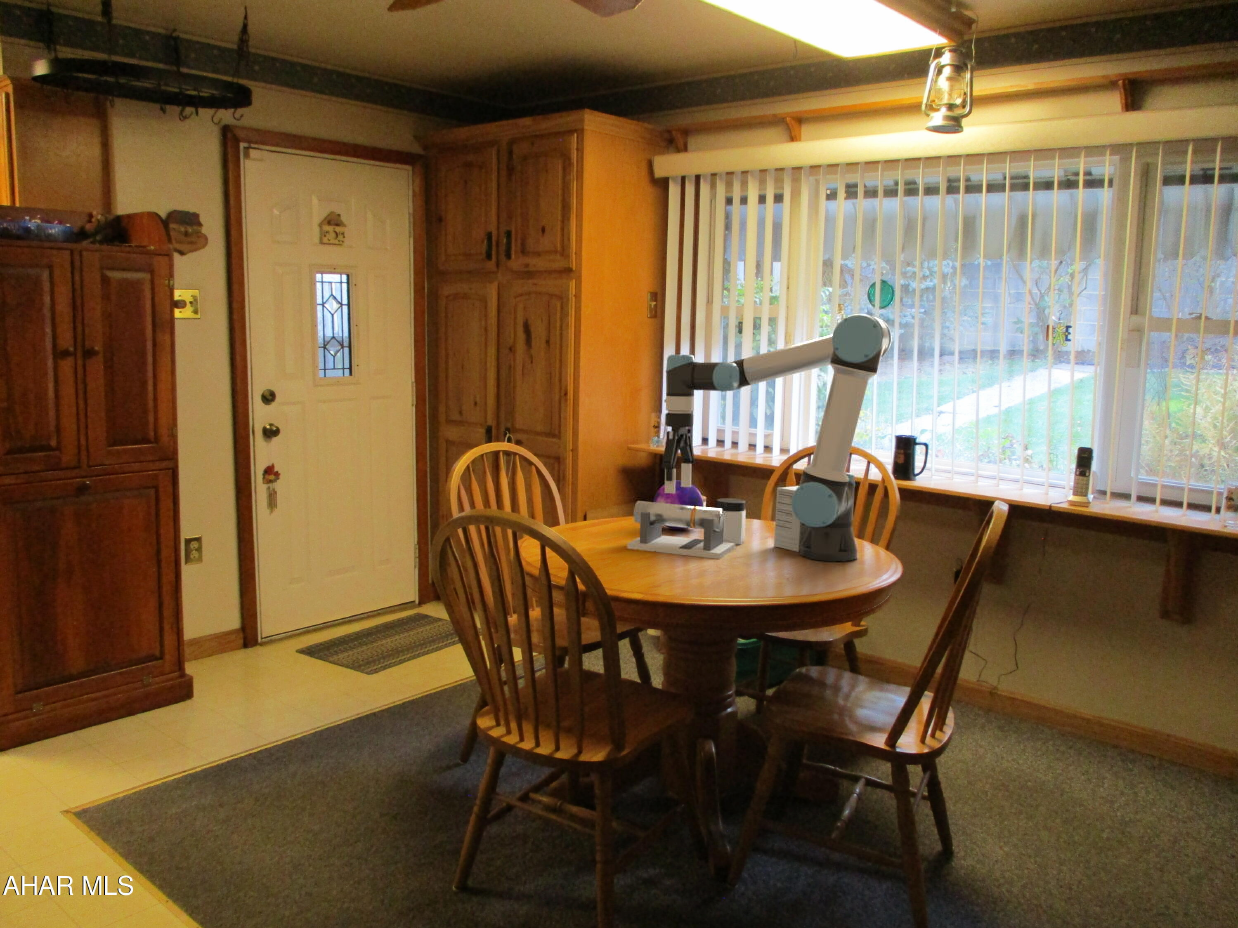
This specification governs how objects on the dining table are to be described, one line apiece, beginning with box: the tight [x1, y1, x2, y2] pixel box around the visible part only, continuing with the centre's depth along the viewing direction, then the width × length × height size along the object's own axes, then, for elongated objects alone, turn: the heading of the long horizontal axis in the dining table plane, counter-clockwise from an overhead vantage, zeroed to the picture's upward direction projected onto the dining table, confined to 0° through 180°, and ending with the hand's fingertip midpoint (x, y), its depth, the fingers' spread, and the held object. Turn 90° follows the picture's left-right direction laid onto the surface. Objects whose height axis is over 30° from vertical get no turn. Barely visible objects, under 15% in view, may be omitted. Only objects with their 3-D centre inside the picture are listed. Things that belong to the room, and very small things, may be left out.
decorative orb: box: [653, 479, 703, 531], centre depth 290 cm, size 15×15×15 cm
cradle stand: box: [626, 511, 736, 560], centre depth 262 cm, size 26×15×10 cm, turn 68°
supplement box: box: [773, 485, 808, 553], centre depth 268 cm, size 10×9×17 cm
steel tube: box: [633, 500, 724, 531], centre depth 262 cm, size 24×6×6 cm, turn 68°
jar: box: [715, 497, 747, 545], centre depth 274 cm, size 9×8×12 cm
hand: (678, 490), depth 262 cm, fingers open, 13 cm apart
